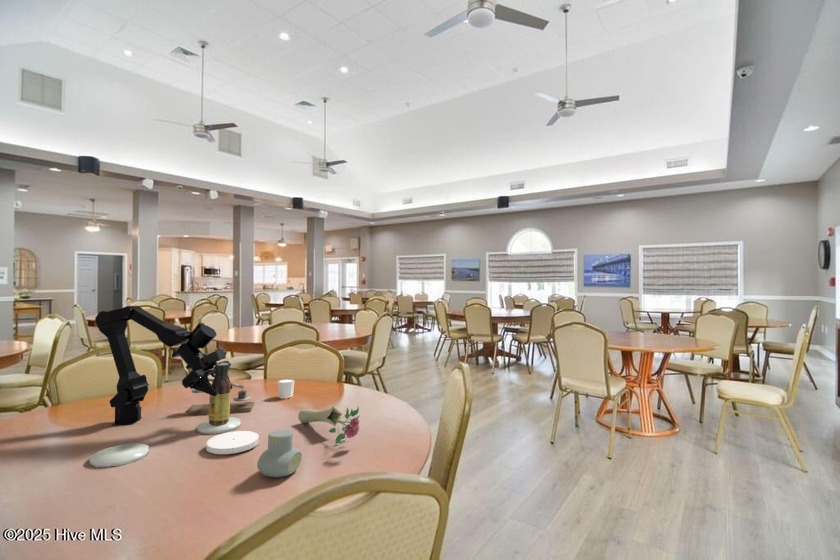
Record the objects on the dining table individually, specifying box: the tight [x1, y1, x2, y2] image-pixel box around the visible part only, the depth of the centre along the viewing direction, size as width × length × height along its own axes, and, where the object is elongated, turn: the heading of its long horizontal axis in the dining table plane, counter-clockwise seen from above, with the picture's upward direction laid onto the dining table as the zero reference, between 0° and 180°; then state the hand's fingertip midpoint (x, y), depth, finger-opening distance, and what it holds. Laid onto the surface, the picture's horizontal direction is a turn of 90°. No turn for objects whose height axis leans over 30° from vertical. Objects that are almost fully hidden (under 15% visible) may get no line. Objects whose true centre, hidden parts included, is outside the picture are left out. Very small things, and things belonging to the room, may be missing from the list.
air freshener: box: [256, 428, 303, 478], centre depth 103 cm, size 11×8×10 cm
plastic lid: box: [205, 430, 260, 455], centre depth 119 cm, size 14×14×2 cm
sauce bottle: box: [208, 362, 232, 425], centre depth 135 cm, size 7×6×20 cm
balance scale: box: [185, 377, 255, 416], centre depth 153 cm, size 22×8×13 cm, turn 103°
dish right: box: [196, 416, 242, 435], centre depth 135 cm, size 13×13×1 cm
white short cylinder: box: [277, 378, 295, 398], centre depth 172 cm, size 7×7×7 cm
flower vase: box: [297, 405, 361, 445], centre depth 127 cm, size 12×12×35 cm
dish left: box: [89, 442, 150, 468], centre depth 111 cm, size 13×13×1 cm
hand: (224, 392), depth 135 cm, fingers open, 8 cm apart
